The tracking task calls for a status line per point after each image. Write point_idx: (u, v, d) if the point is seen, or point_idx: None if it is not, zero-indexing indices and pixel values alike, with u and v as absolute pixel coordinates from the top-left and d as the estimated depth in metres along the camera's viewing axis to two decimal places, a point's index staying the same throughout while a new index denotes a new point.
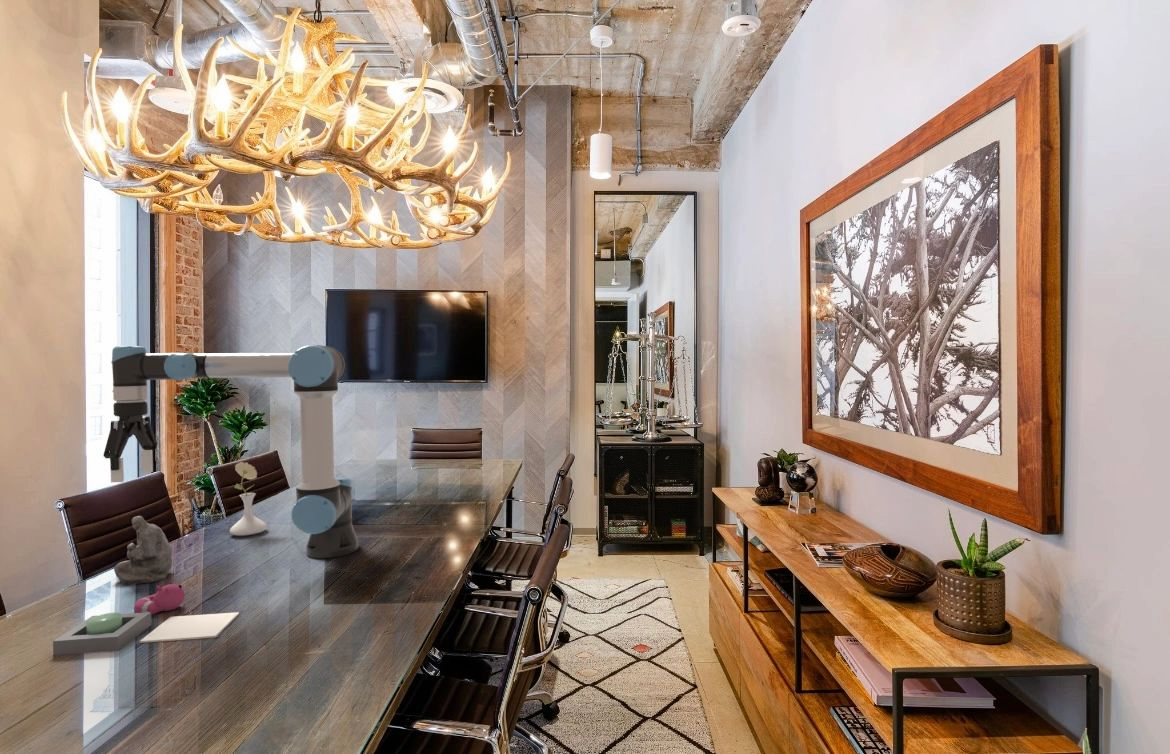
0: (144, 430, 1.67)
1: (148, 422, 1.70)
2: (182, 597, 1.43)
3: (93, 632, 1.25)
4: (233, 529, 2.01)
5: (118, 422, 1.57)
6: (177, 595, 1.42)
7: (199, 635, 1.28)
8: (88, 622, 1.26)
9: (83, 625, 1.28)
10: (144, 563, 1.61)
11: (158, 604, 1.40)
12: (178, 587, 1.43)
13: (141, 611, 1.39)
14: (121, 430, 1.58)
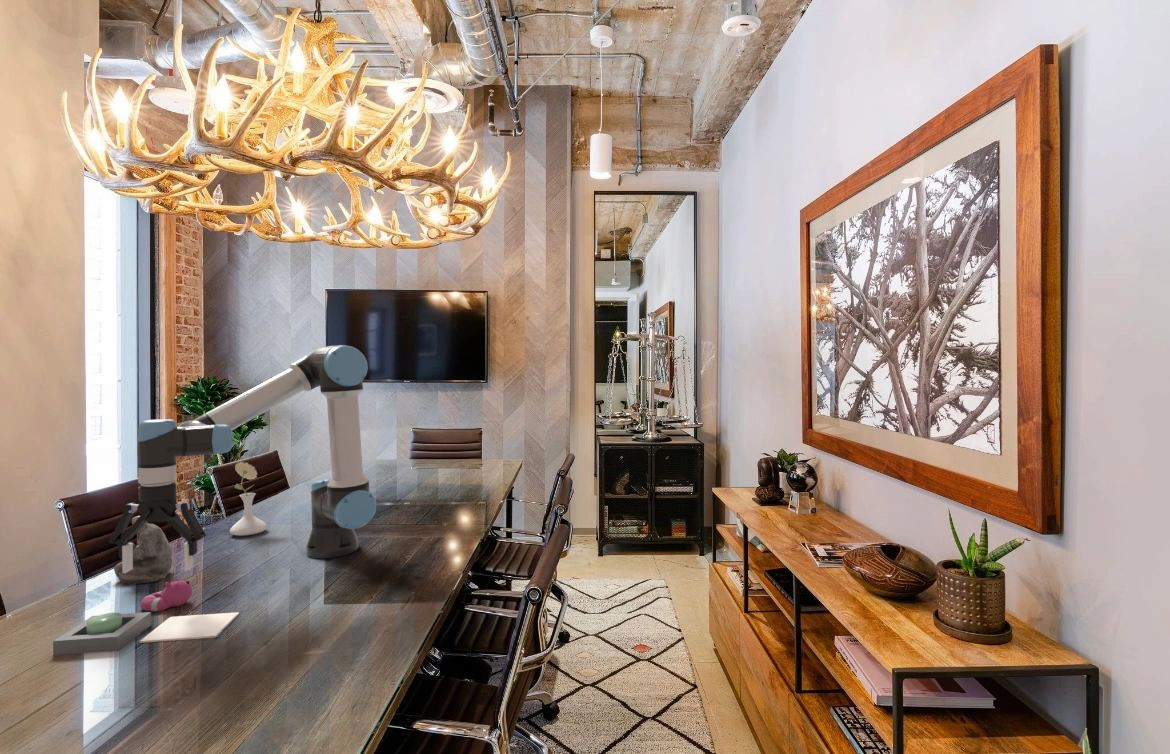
0: (167, 519, 1.42)
1: (182, 510, 1.43)
2: (190, 592, 1.46)
3: (93, 632, 1.25)
4: (233, 529, 2.01)
5: None
6: (186, 590, 1.45)
7: (199, 635, 1.28)
8: (88, 622, 1.26)
9: (83, 625, 1.28)
10: (145, 563, 1.61)
11: (168, 600, 1.42)
12: (186, 583, 1.46)
13: (150, 608, 1.41)
14: (125, 515, 1.41)
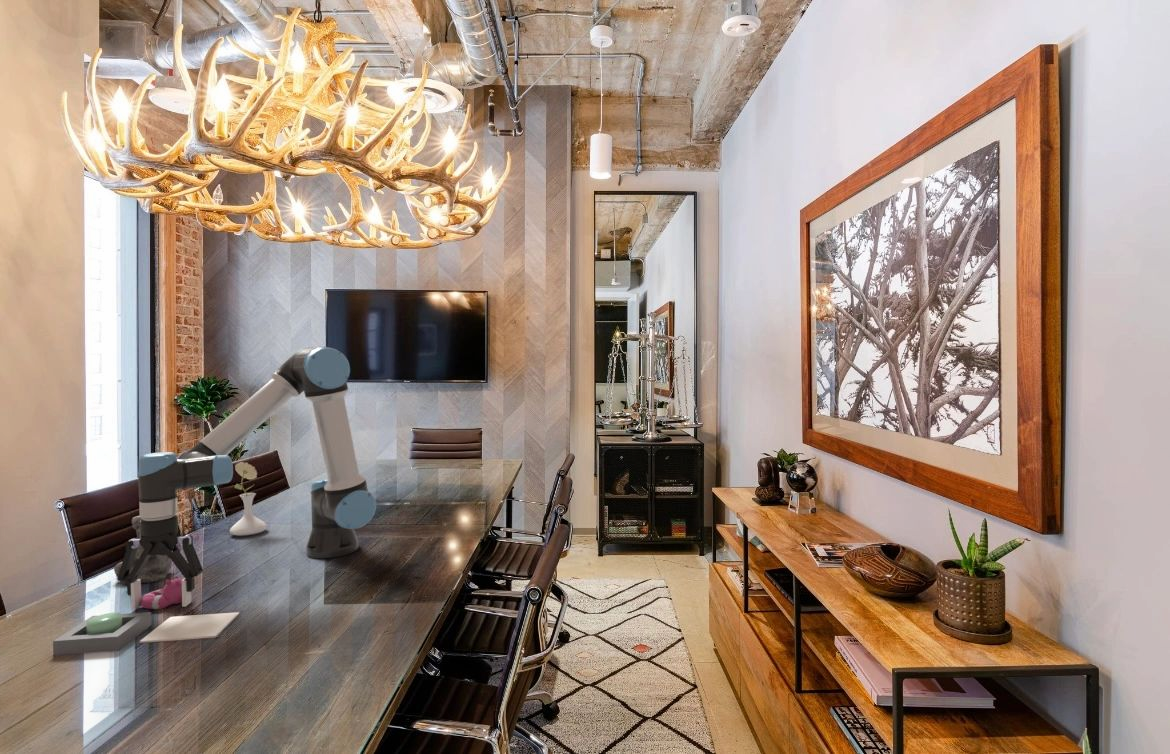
0: (168, 553, 1.42)
1: (183, 545, 1.43)
2: None
3: (93, 632, 1.25)
4: (233, 529, 2.01)
5: None
6: None
7: (199, 635, 1.28)
8: (88, 622, 1.26)
9: (83, 625, 1.28)
10: None
11: (169, 597, 1.44)
12: None
13: (151, 605, 1.42)
14: (128, 551, 1.41)
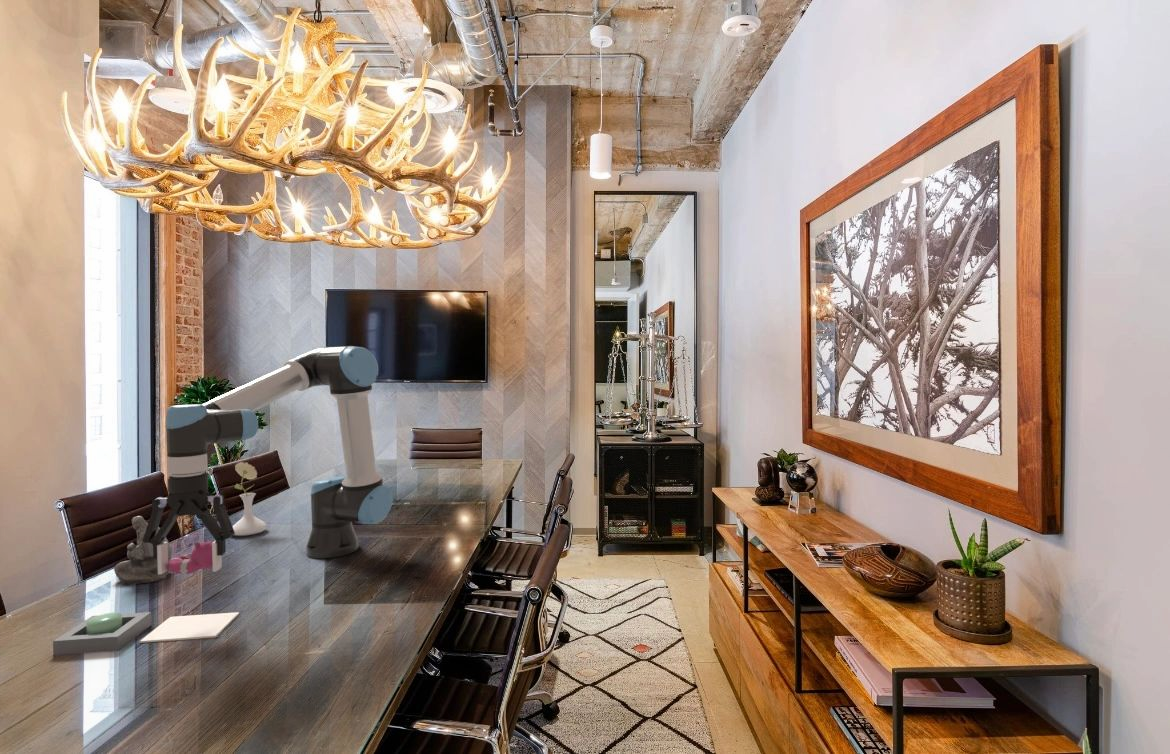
0: (197, 513, 1.31)
1: (214, 504, 1.32)
2: None
3: (93, 632, 1.25)
4: None
5: None
6: None
7: (199, 635, 1.28)
8: (88, 622, 1.26)
9: (83, 625, 1.28)
10: (145, 563, 1.61)
11: (198, 561, 1.32)
12: None
13: (179, 570, 1.31)
14: (155, 511, 1.30)
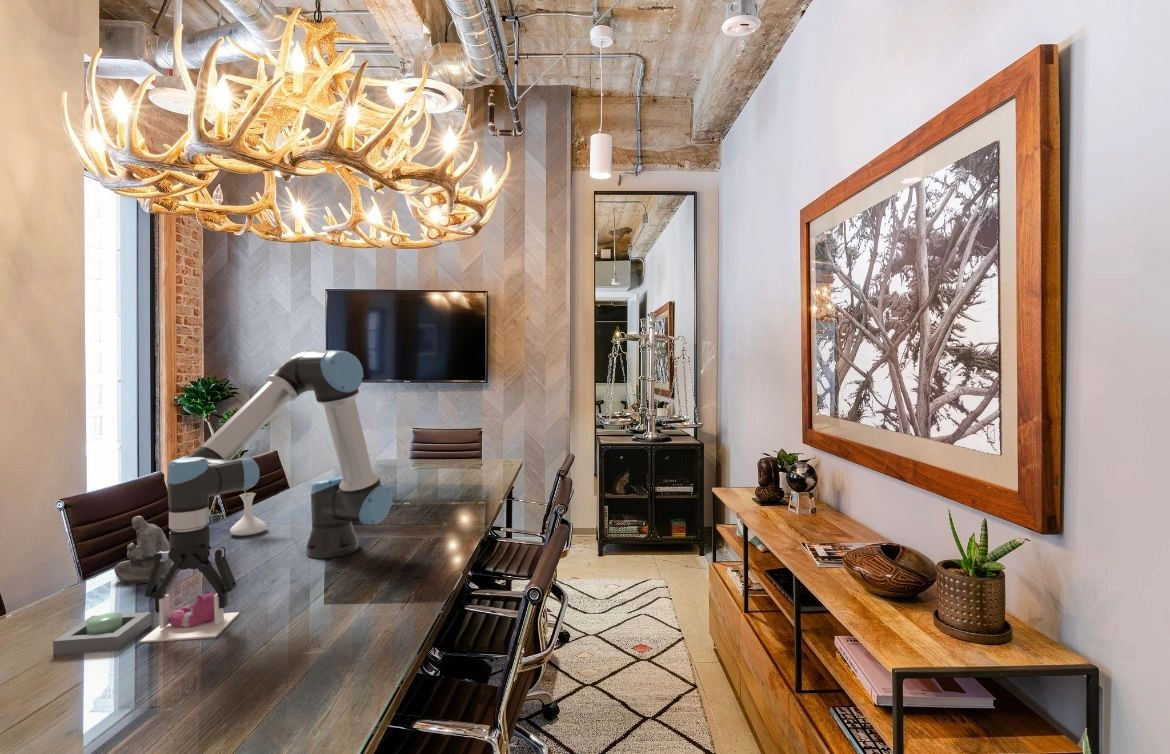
0: (199, 567, 1.31)
1: (216, 558, 1.32)
2: None
3: (93, 632, 1.25)
4: (233, 529, 2.01)
5: None
6: None
7: (199, 635, 1.28)
8: (88, 622, 1.26)
9: (83, 625, 1.28)
10: (145, 563, 1.61)
11: (200, 614, 1.33)
12: None
13: (181, 623, 1.31)
14: (156, 565, 1.30)
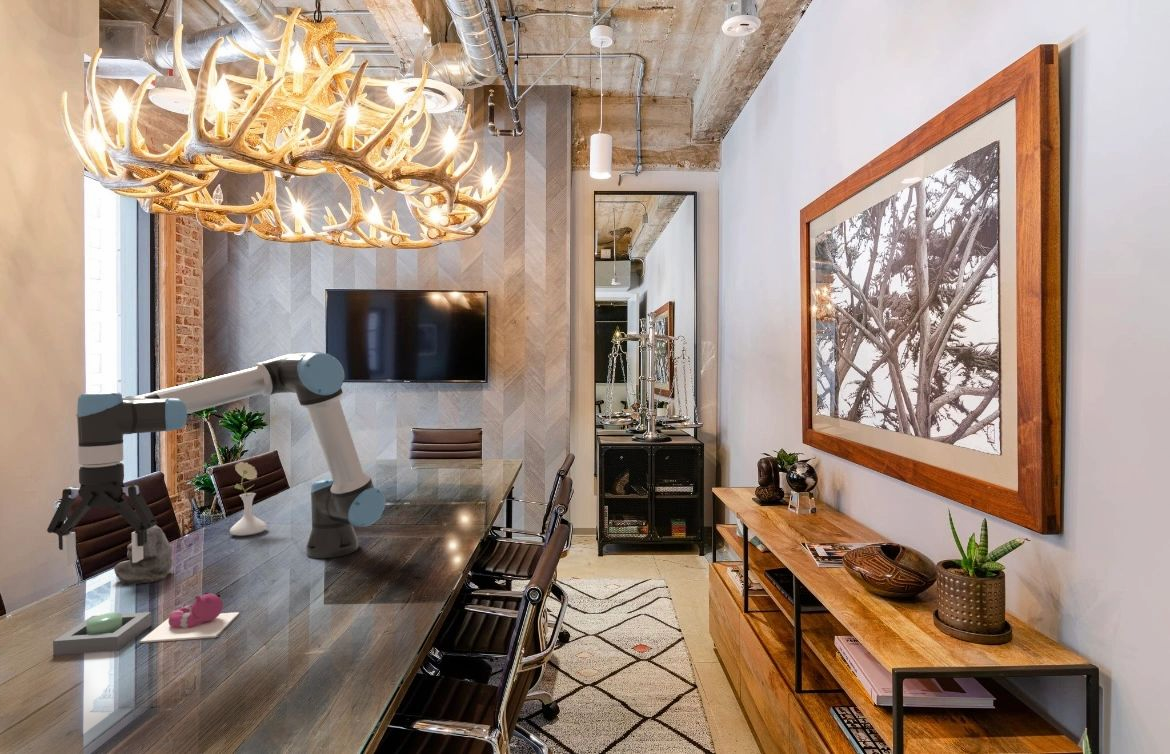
0: (112, 505, 1.25)
1: (130, 494, 1.26)
2: (222, 606, 1.36)
3: (93, 632, 1.25)
4: (233, 529, 2.01)
5: None
6: (217, 604, 1.35)
7: (199, 635, 1.28)
8: (88, 622, 1.26)
9: (83, 625, 1.28)
10: (145, 563, 1.61)
11: (198, 615, 1.32)
12: (217, 596, 1.36)
13: (180, 624, 1.31)
14: (64, 501, 1.24)
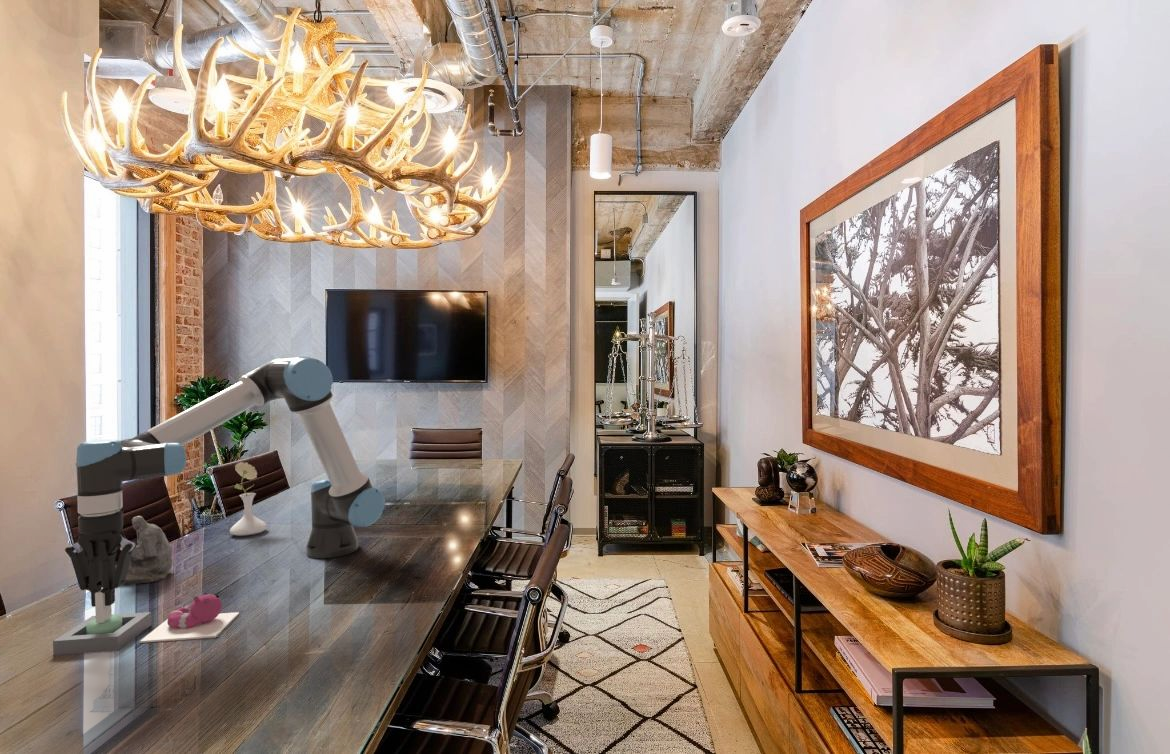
0: (102, 556, 1.25)
1: (123, 550, 1.27)
2: (220, 607, 1.36)
3: None
4: (233, 529, 2.01)
5: None
6: (216, 605, 1.34)
7: (199, 635, 1.28)
8: (88, 625, 1.26)
9: (83, 625, 1.28)
10: (145, 563, 1.61)
11: (197, 616, 1.32)
12: (216, 597, 1.36)
13: (178, 624, 1.31)
14: (73, 557, 1.25)
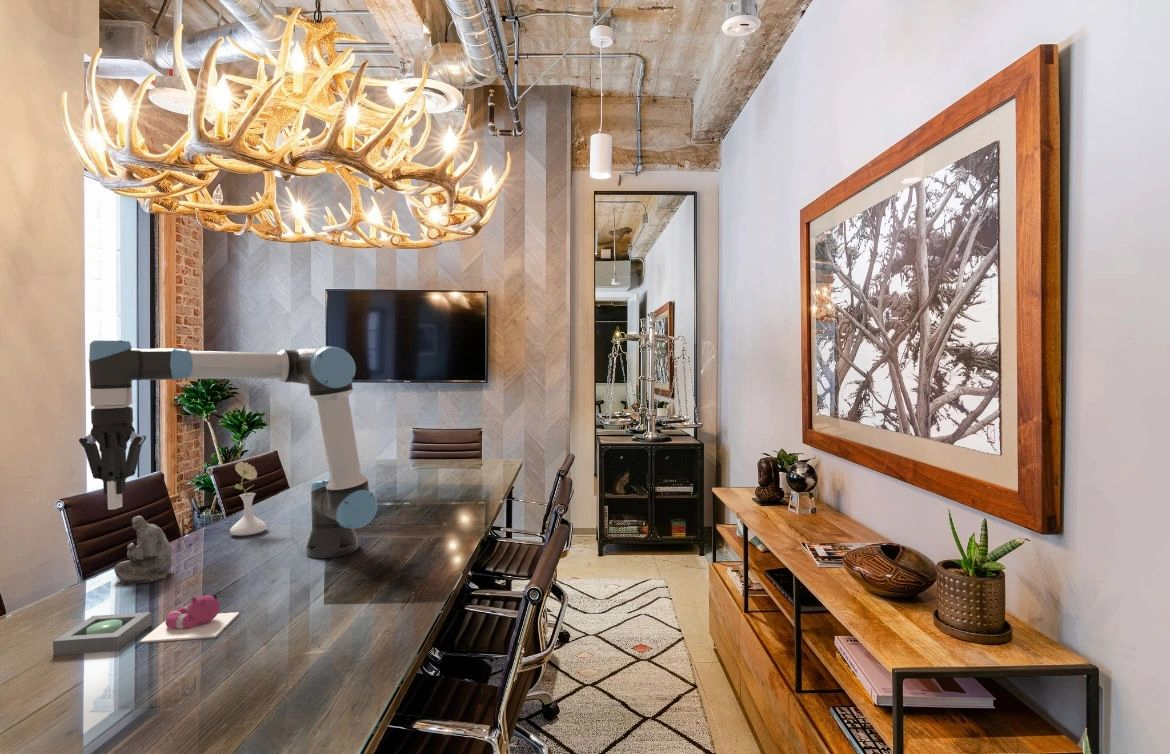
0: (114, 447, 1.34)
1: (133, 442, 1.35)
2: (218, 608, 1.35)
3: None
4: (233, 529, 2.01)
5: None
6: (213, 606, 1.34)
7: (199, 635, 1.28)
8: (88, 629, 1.26)
9: (83, 625, 1.28)
10: (145, 563, 1.61)
11: (194, 617, 1.32)
12: (213, 598, 1.35)
13: (175, 625, 1.30)
14: (87, 448, 1.34)
